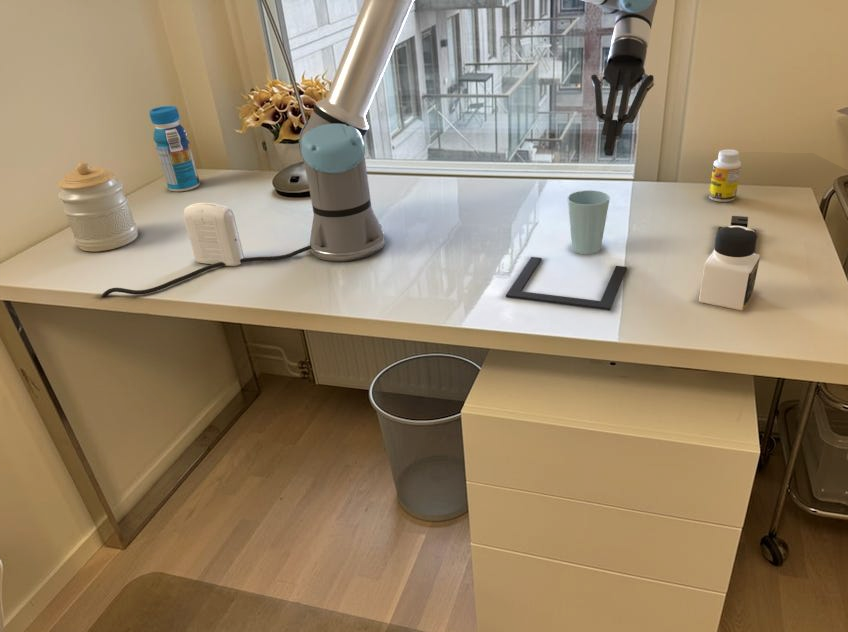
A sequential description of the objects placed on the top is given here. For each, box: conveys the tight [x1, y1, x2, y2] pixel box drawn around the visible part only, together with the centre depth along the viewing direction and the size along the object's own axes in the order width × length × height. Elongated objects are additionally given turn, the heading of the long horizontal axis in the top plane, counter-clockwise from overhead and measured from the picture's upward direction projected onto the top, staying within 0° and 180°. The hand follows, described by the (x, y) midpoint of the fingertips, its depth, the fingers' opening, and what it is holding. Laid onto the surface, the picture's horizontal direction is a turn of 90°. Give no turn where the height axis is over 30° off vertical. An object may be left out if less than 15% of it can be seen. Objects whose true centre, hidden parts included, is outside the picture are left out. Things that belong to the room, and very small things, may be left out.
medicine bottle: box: [698, 225, 761, 311], centre depth 113 cm, size 7×7×12 cm
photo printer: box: [183, 202, 245, 267], centre depth 139 cm, size 10×4×12 cm, turn 72°
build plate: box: [717, 215, 757, 254], centre depth 133 cm, size 12×7×5 cm, turn 159°
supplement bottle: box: [708, 148, 742, 203], centre depth 150 cm, size 6×6×10 cm
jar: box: [57, 161, 139, 252], centre depth 151 cm, size 13×13×18 cm
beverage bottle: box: [148, 105, 201, 193], centre depth 179 cm, size 8×8×20 cm
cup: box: [567, 190, 611, 255], centre depth 133 cm, size 8×8×10 cm
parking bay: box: [505, 256, 628, 311], centre depth 124 cm, size 16×18×1 cm
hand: (608, 152), depth 142 cm, fingers closed
